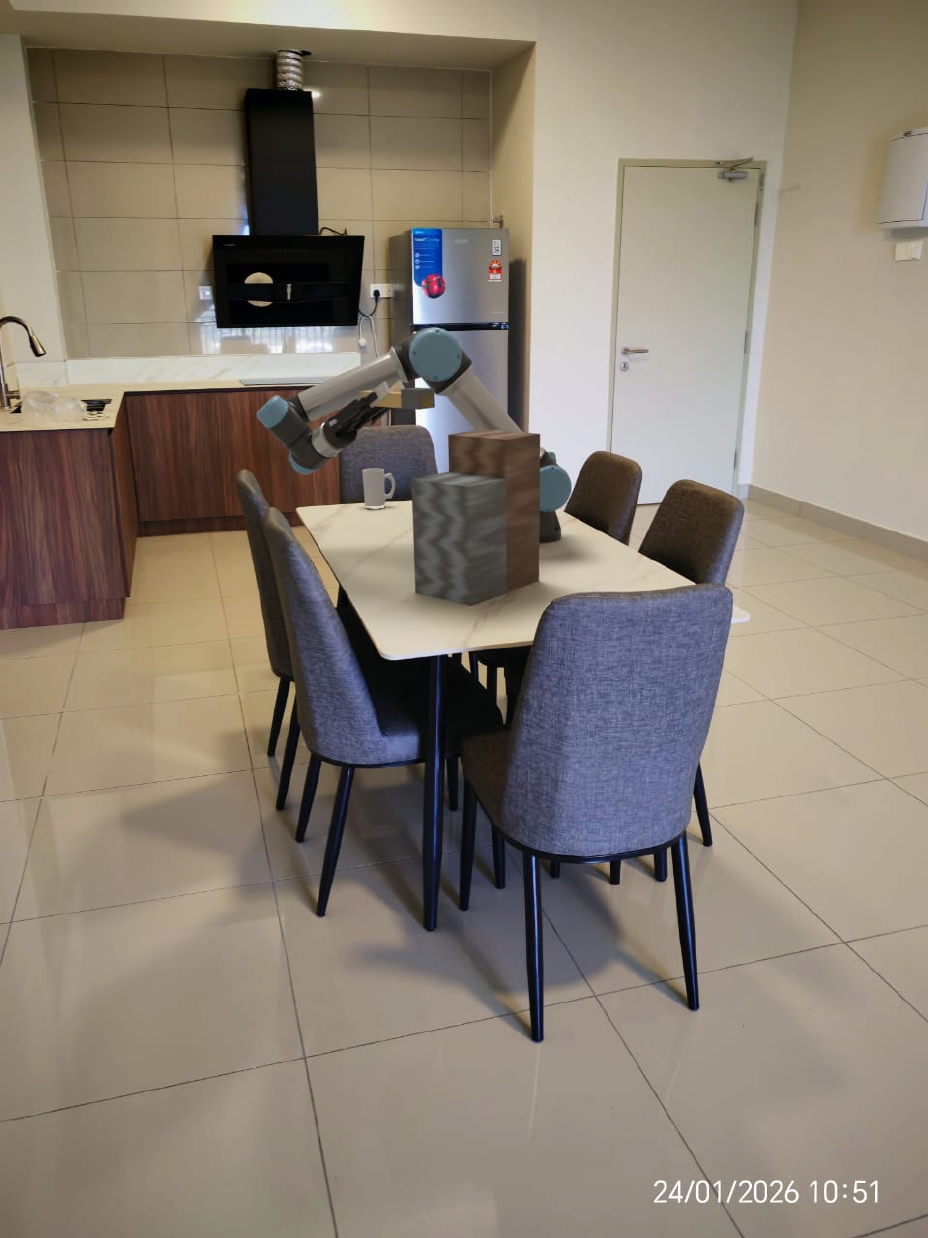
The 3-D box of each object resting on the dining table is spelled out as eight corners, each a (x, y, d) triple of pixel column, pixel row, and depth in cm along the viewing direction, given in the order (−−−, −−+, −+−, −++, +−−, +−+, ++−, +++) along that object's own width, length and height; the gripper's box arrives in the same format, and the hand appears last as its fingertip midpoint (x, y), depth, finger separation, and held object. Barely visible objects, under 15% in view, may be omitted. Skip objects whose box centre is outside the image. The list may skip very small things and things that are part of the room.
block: (359, 405, 205) (358, 386, 204) (375, 403, 208) (375, 385, 207) (418, 409, 194) (418, 389, 192) (434, 407, 197) (434, 388, 196)
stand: (415, 592, 203) (409, 440, 193) (484, 569, 220) (483, 428, 210) (470, 605, 193) (468, 446, 183) (539, 580, 210) (540, 433, 200)
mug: (364, 510, 290) (362, 472, 286) (364, 506, 296) (362, 468, 292) (396, 509, 290) (394, 471, 287) (395, 505, 297) (394, 467, 293)
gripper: (367, 445, 222) (428, 399, 206) (313, 453, 210) (373, 405, 194) (355, 416, 222) (415, 368, 206) (300, 423, 210) (359, 373, 194)
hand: (394, 386), depth 200 cm, fingers closed on block, 4 cm apart
